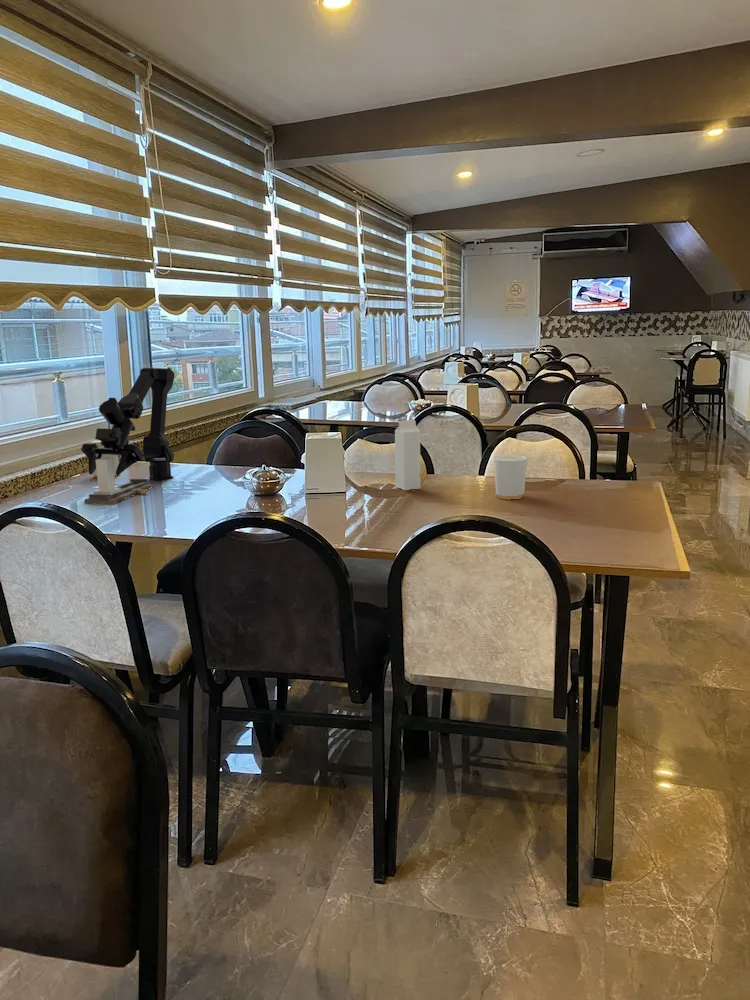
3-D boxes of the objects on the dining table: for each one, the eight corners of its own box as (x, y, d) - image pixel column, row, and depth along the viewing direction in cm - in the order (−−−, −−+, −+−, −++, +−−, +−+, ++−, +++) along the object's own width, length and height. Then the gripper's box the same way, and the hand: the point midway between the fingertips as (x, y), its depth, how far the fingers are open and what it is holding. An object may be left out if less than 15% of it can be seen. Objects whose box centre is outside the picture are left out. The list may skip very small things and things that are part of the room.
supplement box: (120, 475, 278) (117, 439, 275) (115, 477, 274) (111, 441, 271) (99, 475, 279) (95, 439, 276) (93, 477, 275) (89, 441, 272)
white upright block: (104, 493, 241) (100, 457, 239) (121, 494, 240) (117, 457, 237) (93, 497, 236) (89, 460, 233) (111, 498, 234) (107, 460, 232)
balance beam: (118, 486, 258) (118, 478, 258) (161, 487, 255) (161, 479, 254) (75, 503, 235) (74, 494, 234) (122, 504, 231) (121, 495, 230)
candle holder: (494, 493, 236) (494, 454, 234) (526, 493, 234) (527, 455, 232) (492, 500, 227) (493, 460, 224) (526, 501, 225) (527, 461, 222)
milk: (395, 488, 246) (394, 420, 241) (411, 486, 249) (410, 419, 244) (404, 491, 241) (403, 422, 236) (421, 489, 243) (420, 420, 238)
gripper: (81, 417, 238) (63, 458, 230) (134, 418, 234) (118, 459, 226) (97, 439, 248) (81, 479, 240) (150, 439, 244) (135, 480, 236)
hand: (103, 474), depth 235 cm, fingers open, 9 cm apart
